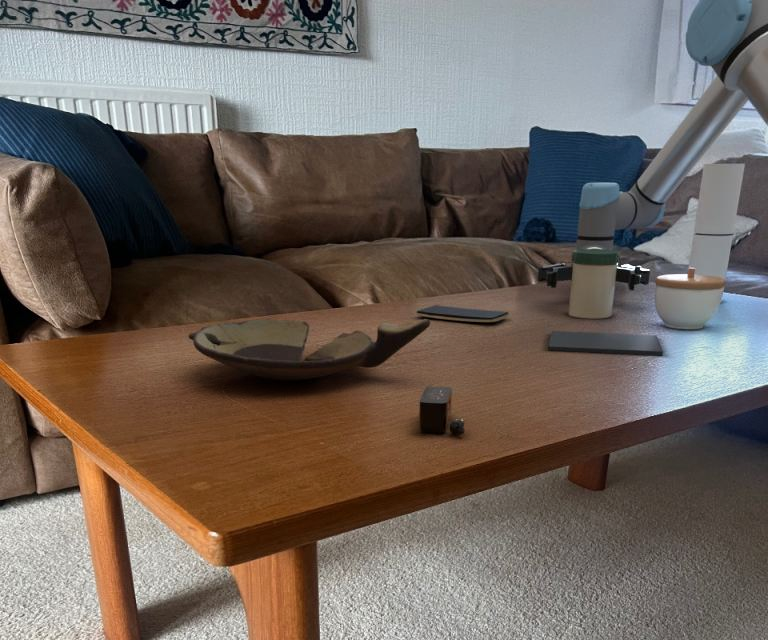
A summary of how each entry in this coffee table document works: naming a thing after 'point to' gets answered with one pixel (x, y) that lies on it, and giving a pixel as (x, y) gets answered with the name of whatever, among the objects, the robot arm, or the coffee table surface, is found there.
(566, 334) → the mat
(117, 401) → the coffee table surface
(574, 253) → the lid
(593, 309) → the jar
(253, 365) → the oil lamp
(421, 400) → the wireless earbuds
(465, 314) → the smartphone
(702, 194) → the cylindrical container
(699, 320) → the trinket box
